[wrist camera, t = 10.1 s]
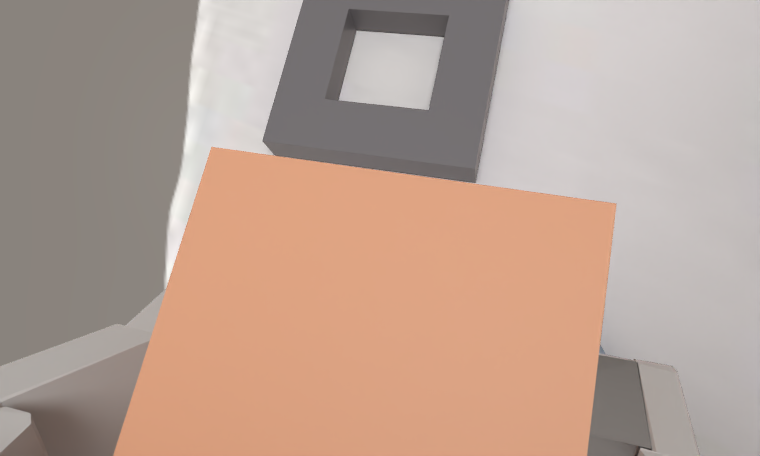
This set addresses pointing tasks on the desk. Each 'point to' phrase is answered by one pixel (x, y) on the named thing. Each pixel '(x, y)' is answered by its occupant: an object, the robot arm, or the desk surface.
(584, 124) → the desk surface
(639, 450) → the robot arm
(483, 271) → the terracotta block
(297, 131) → the pocket holder
